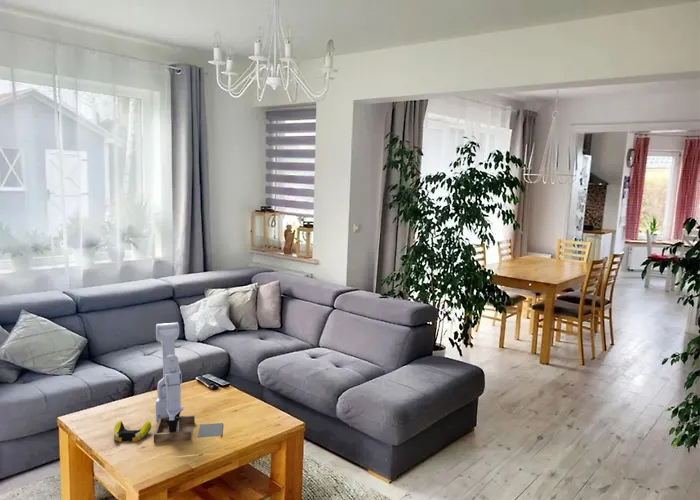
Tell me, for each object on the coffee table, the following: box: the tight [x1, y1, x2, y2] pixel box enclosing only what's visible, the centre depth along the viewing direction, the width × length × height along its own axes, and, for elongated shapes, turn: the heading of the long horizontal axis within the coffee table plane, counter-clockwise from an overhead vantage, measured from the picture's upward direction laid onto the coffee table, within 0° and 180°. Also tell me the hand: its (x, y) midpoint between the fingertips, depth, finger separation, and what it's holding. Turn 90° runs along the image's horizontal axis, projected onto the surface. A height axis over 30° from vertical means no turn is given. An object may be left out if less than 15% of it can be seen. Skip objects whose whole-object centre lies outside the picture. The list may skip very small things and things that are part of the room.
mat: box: [197, 422, 224, 438], centre depth 232 cm, size 10×12×1 cm
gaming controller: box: [113, 420, 152, 443], centre depth 224 cm, size 15×6×10 cm
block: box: [168, 417, 179, 432], centre depth 228 cm, size 4×4×6 cm
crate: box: [153, 414, 196, 443], centre depth 229 cm, size 15×16×4 cm
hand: (174, 428), depth 229 cm, fingers open, 7 cm apart
